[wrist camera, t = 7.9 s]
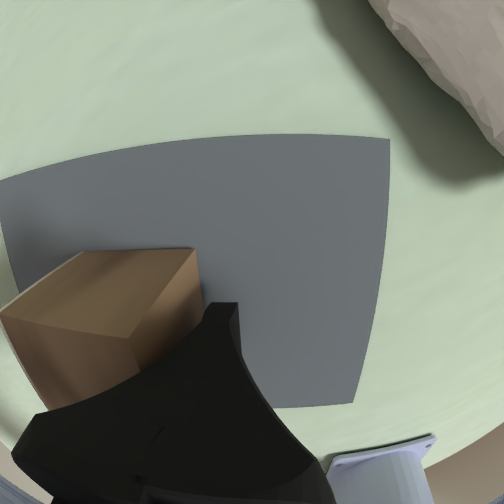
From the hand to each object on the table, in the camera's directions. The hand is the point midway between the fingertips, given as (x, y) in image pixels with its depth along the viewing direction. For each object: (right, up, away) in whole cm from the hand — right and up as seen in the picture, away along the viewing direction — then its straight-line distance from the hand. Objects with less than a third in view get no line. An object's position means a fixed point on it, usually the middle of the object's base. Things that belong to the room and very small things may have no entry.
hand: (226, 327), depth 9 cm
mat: (-3, +1, +2) cm, 3 cm away
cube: (-1, -1, -1) cm, 2 cm away
